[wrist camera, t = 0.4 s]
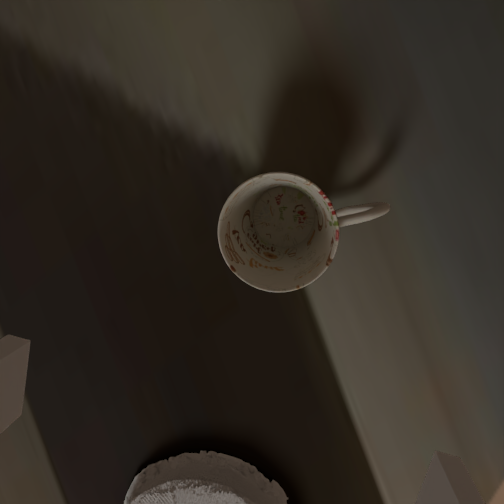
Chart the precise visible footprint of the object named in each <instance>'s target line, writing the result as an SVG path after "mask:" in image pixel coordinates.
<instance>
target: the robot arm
mask: <svg viewBox="0 0 504 504" xmlns="http://www.w3.org/2000/svg"><path fill="white" fill-rule="evenodd" d="M29 349H30V340H26V339H23V338H19V337H15V336H12V335H7V336H5V337H3V338H2V339H0V433H1V432H3V431H4V430H5V429H6V428H7V427H8V426H9V425H10V424H12V423H13V422H14V421H15V420H16V419H17V418H18V417H19V416H21V415H22V407H23V399H24V390H25V382H26V374H27V365H28V357H29ZM415 504H485V503H484V501H483V499H482V497H481V495H480V493H479V491H478V489H477V488H476V486H475V484H474V482H473V480H472V478H471V476H470V475H469V473H468V471H467V469H466V467H465V465H464V463H463V462H462V460H461V458H460V457H457V456H453V455H450V454H446V453H442V452H439V451H435V452H434V455H433V457H432V460H431V463H430V465H429V468H428V471H427V474H426V476H425V479H424V482H423V484H422V487H421V490H420V492H419V495H418V498H417V501H416V503H415Z"/></svg>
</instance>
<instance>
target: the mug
mask: <svg viewBox="0 0 504 504" xmlns="http://www.w3.org/2000/svg"><path fill="white" fill-rule="evenodd" d="M389 210H390V205H389V204H387V203H383V202H375V203H367V204H362V205H354V206H347V207H344V208H341V209H337V210H335V209H334V207H333V205H332V203H331V201H330V200H329V198H328V197H327V195H326V194H325V193H324V192H323V191H322V190H321V189H320V188H319V187H318V186H317V185H316V184H314V183H313V182H311V181H310V180H308V179H306V178H304V177H302V176H299V175H296V174H293V173H288V172H269V173H264V174H260V175H257V176H255V177H253V178H250V179H249V180H247V181H245V182H244V183H242V184H241V185H240V186H239V187H237V188H236V189H235V190H234V191H233V192H232V194H231V195H230V196H229V197H228V199H227V201H226V202H225V204H224V206H223V208H222V211H221V214H220V217H219V222H218V241H219V246H220V250H221V253H222V255H223V257H224V259H225V261H226V263H227V265H228V266H229V267H230V269H231V270H232V271H233V272H234V273H235V274H236V275H237V276H238V277H239V278H240V279H241V280H243V281H244V282H246V283H247V284H249V285H251V286H253V287H255V288H258V289H260V290H264V291H269V292H288V291H293V290H297V289H300V288H302V287H305V286H307V285H308V284H310V283H312V282H313V281H315V280H316V279H317V278H318V277H320V276H321V275H322V274H323V273H324V272H325V270H326V269H327V268H328V266H329V265H330V263H331V262H332V260H333V258H334V256H335V253H336V250H337V247H338V242H339V227H343V226H347V225H352V224H357V223H361V222H365V221H369V220H372V219H375V218H377V217H380V216H382V215H384V214H386V213H387V212H388V211H389Z"/></svg>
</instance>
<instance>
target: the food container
mask: <svg viewBox="0 0 504 504" xmlns="http://www.w3.org/2000/svg"><path fill="white" fill-rule="evenodd" d="M168 462H169V463H168ZM286 500H288V498H287V497H286V495H285V492H284V490H283V489H282V488H281V487H280V486H279V484H278V483H277V482H275V480H272V481H271V483H270V482H269V479H266V478H265V477H264V476H263V474H262V473H260V472H258V470H257V469H256V467H255V466H252V465H250V463H246V462H244V461H242V460H241V459H238V458H235V457H232V456H229V455H225V454H222V453H216V452H214V451H209V452H208V453H206V451H202V450H201V451H200V454H198V453H182V454H180V455H178V456H176V457H170V458H169V460H168V461H167V460H166V459H165V460H162V461H159V462H158V463H155V464H151V465H148V466H147V468H145V469H143V470H142V472H141V473H139V474H138V475H137V476H135V478H134V480H133V482H132V483H131V486H130V488H129V490H128V492H127V494H126V498H125V501H124V504H287V502H286Z"/></svg>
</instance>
